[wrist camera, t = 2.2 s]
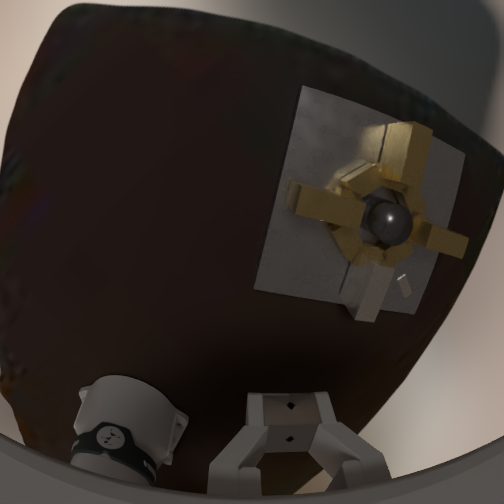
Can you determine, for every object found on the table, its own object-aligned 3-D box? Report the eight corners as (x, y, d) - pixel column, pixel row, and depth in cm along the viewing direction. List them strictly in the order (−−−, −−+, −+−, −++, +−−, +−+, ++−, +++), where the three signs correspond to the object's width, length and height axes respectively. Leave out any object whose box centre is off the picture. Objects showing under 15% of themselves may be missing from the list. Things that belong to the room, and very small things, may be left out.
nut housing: (407, 307, 37) (432, 333, 30) (252, 281, 35) (256, 311, 28) (455, 153, 30) (491, 157, 24) (298, 89, 28) (314, 73, 21)
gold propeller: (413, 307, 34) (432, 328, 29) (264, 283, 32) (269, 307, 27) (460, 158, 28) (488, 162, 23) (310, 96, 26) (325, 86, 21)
